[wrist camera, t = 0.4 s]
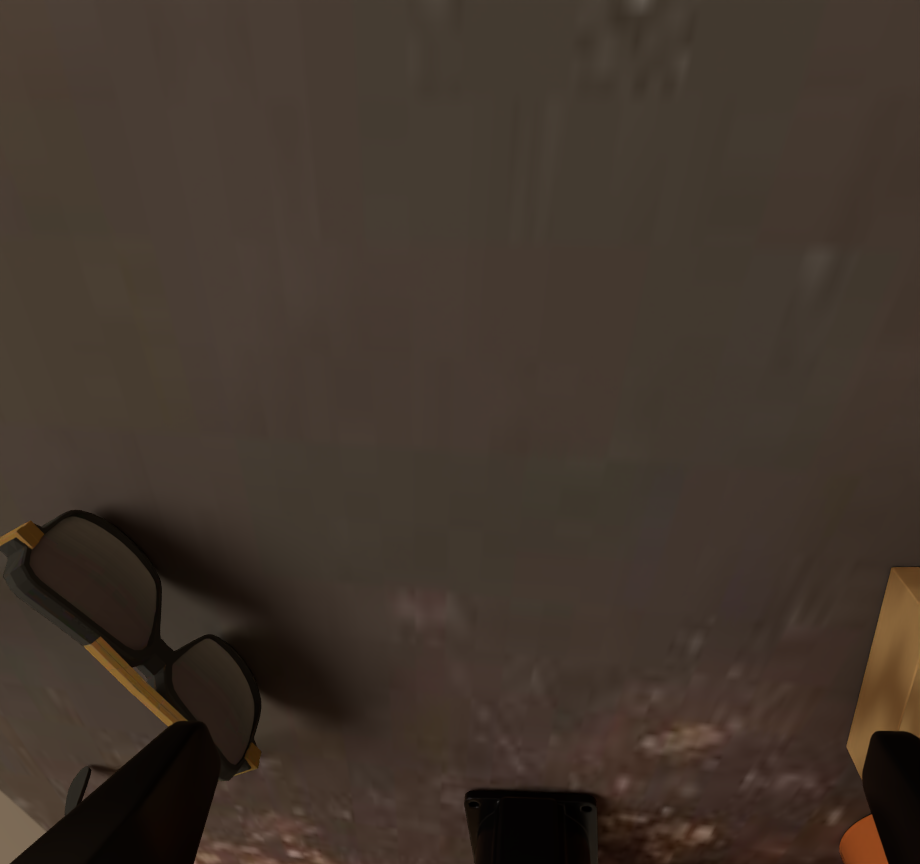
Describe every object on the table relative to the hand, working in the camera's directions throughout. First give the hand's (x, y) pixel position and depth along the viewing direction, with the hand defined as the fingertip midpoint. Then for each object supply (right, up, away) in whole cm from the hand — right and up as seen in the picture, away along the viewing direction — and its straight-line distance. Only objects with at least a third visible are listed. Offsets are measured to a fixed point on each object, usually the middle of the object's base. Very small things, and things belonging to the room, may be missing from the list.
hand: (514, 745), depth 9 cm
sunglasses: (-18, -6, +22) cm, 29 cm away
